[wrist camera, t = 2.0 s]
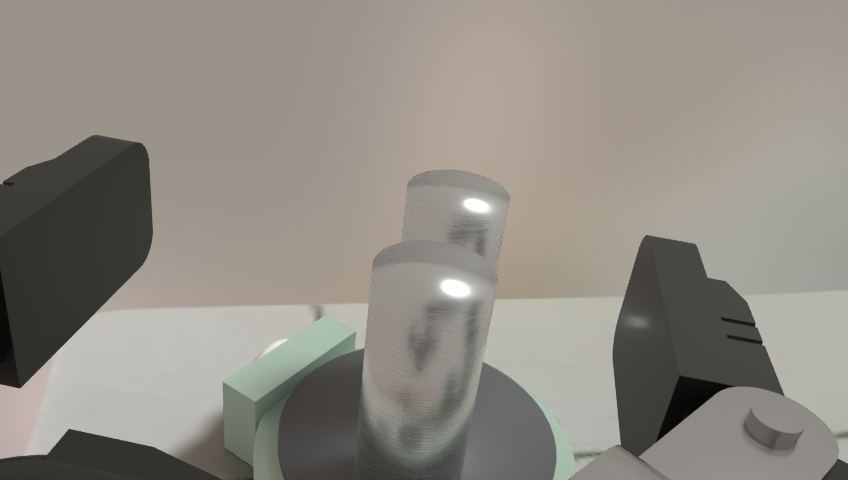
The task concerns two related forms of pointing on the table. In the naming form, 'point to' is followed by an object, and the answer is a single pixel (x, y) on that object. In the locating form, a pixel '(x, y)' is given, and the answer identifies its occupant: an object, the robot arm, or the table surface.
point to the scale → (339, 409)
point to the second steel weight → (457, 211)
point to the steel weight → (422, 360)
